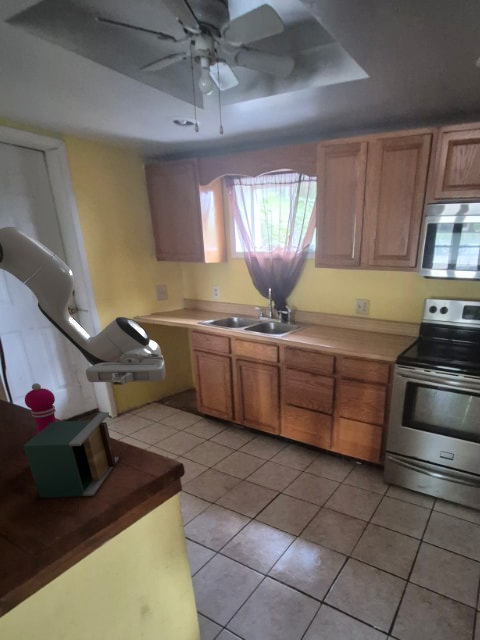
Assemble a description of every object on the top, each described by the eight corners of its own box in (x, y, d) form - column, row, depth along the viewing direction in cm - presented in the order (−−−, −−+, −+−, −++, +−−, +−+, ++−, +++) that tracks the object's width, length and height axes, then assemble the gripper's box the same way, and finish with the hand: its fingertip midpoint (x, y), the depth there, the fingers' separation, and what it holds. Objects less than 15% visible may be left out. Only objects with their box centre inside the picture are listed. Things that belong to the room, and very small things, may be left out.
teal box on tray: (40, 497, 80) (22, 445, 75) (73, 460, 94) (61, 413, 89) (93, 495, 81) (79, 443, 76) (119, 458, 95) (108, 412, 89)
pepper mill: (68, 445, 100) (48, 376, 92) (76, 455, 96) (56, 383, 88) (36, 455, 96) (13, 383, 88) (43, 466, 91) (20, 391, 83)
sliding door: (92, 480, 84) (81, 437, 80) (105, 463, 91) (95, 422, 86) (104, 480, 85) (93, 436, 80) (115, 463, 91) (106, 422, 86)
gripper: (96, 355, 107) (72, 371, 94) (168, 355, 108) (155, 370, 95) (100, 376, 109) (78, 393, 96) (171, 375, 111) (158, 392, 98)
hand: (117, 382), depth 96 cm, fingers closed
